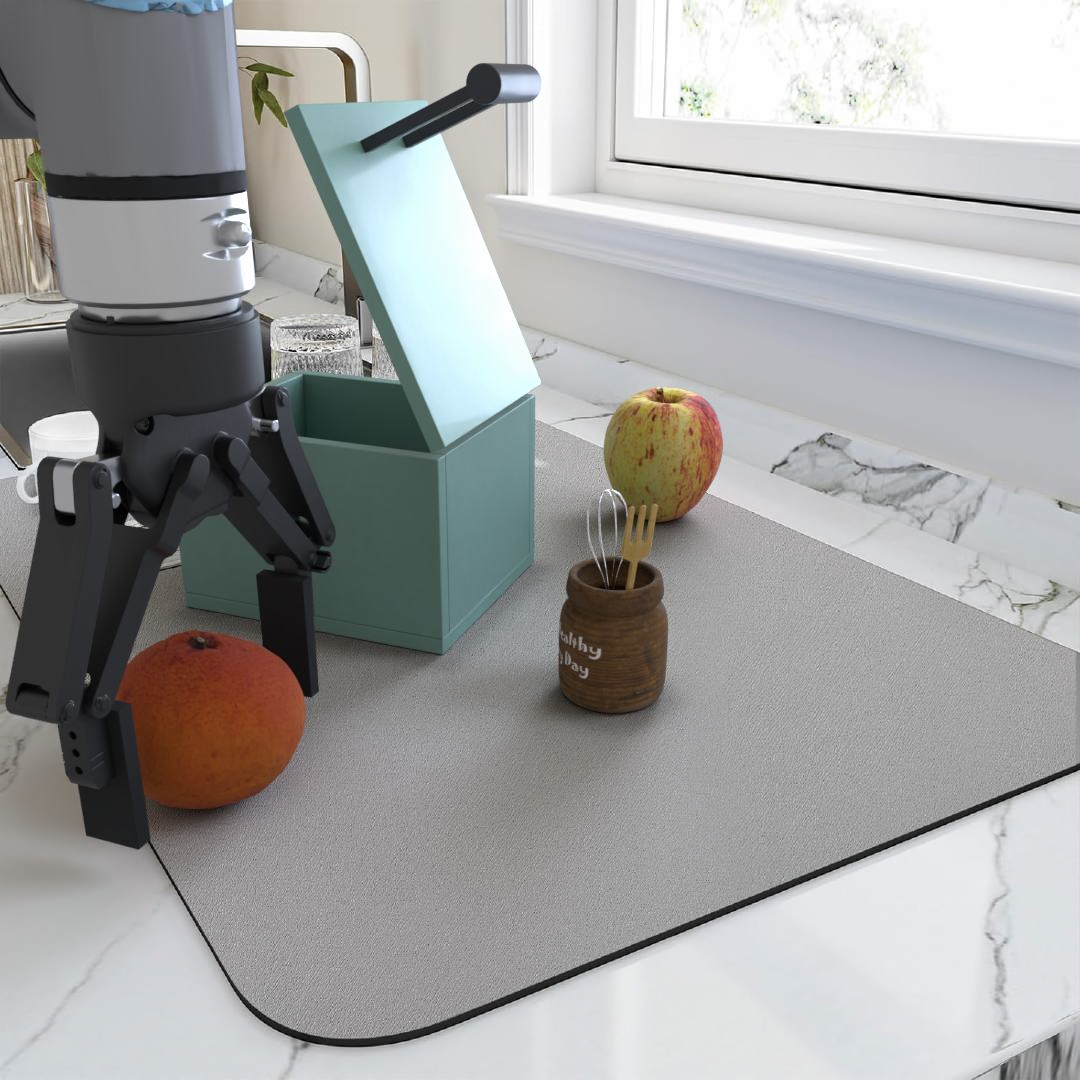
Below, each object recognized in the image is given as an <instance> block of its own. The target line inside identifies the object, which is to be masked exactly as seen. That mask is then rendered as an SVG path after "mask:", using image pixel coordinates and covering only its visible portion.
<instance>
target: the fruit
mask: <svg viewBox="0 0 1080 1080" xmlns="http://www.w3.org/2000/svg"><path fill="white" fill-rule="evenodd" d="M115 700H118V701H122V702H127V703H131V707H132V714H133V721H134V728H135V734H136V741H137V748H138V755H139V762H140V769H141V776H142V783H143V790H144V797H146V798H148V799H150V800H152V801H154V802H156V803H159V804H162V805H163V806H166V807H169V808H177V809H185V810H201V809H202V810H204V809H206V810H209V809H216V808H220V807H224V806H227V805H232V804H235V803H238V802H241V801H244V800H246V799H249V798H252V797H253V796H256V795H258V794H259V793H262V792H263V791H264V790H266V788H268V786H269V785H270V784H272V783H273V782H274V781H275V780H276V779H277V778H278V777H279V776H280V775H281V774H282V773H283V772H284V770H285V769H286V768H287V766H288V765H289V764H290V762H291V760H292V759H293V757H294V755H295V752H296V751H297V749H298V745H299V744H300V743H301V740H302V736H303V734H304V730H305V726H306V725H305V724H306V709H307V708H306V700H305V696H304V695H303V692H302V689H301V687H300V685H299V683H298V681H297V679H296V677H295V675H294V674H293V672H292V671H291V669H290V668H289V667H288V665H287V664H286V663H285V662H284V661H283V660H282V659H281V658H280V657H278V656H277V655H275V654H273V653H272V652H270V651H269V650H267V649H266V648H264V647H263V645H261V644H259V643H256V642H254V641H251V640H249V639H245V638H242V637H239V636H235V635H231V634H228V633H221V632H220V633H218V632H217V633H216V632H211V631H208V630H207V631H206V630H199V629H190V630H185V631H181V632H177V633H174V634H173V633H172V634H171V635H168V636H167V637H165V639H161V640H159V641H157V642H155V643H152V644H151V645H149V646H148V647H146V648H145V649H143V650H142V651H139V653H137V654H136V655H135V656H134V657H133V658H132V659H131V660H130V661H129V662H128V664H127V666H126V669H125V672H124V675H123V678H122V681H121V684H120V687H119V690H118V693H117V695H116V698H115Z"/></svg>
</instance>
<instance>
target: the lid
mask: <svg viewBox="0 0 1080 1080" xmlns="http://www.w3.org/2000/svg"><path fill="white" fill-rule="evenodd" d="M541 90H542V78H541V74H540V73H539V71H538V70H537V69H536V68H535V66H532V65H531V64H527V63H500V62H499V63H498V62H497V63H496V62H480V63H477V64H475V65H474V66H473V67H471V69H470V70H469V71H468V73H467V76H466V80H465V85H464V86H463V87H460V88H458V89H456V90H454V91H453V92H451V93H449V94H447V95H445V96H443V97H441V98H439V99H437V100H436V101H433V102H432V103H430V104H429V103H428V100H427V99H412V100H411V99H410V100H408V99H407V100H383V101H357V102H356V101H355V102H353V101H352V102H330V103H329V102H327V103H300V104H296V105H293V106H292V107H290V108H288V109H287V110H285V111H283V115H284V117H285V119H286V122H287V124H288V127H289V129H290V131H291V133H292V136H293V139H294V141H295V143H296V145H297V147H298V149H299V153H300V154H301V156H302V159H303V161H304V164H305V165H306V168H307V170H308V173H309V175H310V177H311V180H312V182H313V184H314V186H315V188H316V191H317V193H318V196H319V198H320V200H321V203H322V205H323V208H324V209H325V212H326V214H327V216H328V219H329V221H330V223H331V226H332V227H333V231H334V233H335V235H336V237H337V240H338V242H339V244H340V247H341V249H342V251H343V253H344V255H345V258H346V261H347V262H348V265H349V267H350V270H351V272H352V273H353V277H354V279H355V281H356V283H357V285H358V288H359V290H360V292H361V295H362V298H363V300H364V302H365V304H366V306H367V309H368V311H369V313H370V316H371V319H372V321H373V323H374V325H375V327H376V330H377V332H378V334H379V337H380V339H381V341H382V344H383V346H384V348H385V350H386V352H387V355H388V357H389V360H390V362H391V365H392V367H393V369H394V371H395V373H396V376H397V378H398V380H399V381H400V383H401V385H402V387H403V390H404V392H405V394H406V397H407V399H408V401H409V404H410V406H411V408H412V411H413V413H414V415H415V417H416V420H417V422H418V424H419V427H420V429H421V431H422V434H423V436H424V438H425V441H426V443H427V445H428V448H429V450H430V452H434V451H436V450H439V449H442V448H445V447H446V446H448V445H449V444H451V443H452V442H454V441H456V440H457V439H459V438H460V437H462V436H463V435H465V434H466V433H468V432H469V431H471V430H472V429H474V428H475V427H477V426H478V425H480V424H482V423H483V422H485V421H486V420H488V419H489V418H491V417H492V416H494V415H495V414H497V413H498V412H500V411H501V410H503V409H504V408H506V407H507V406H509V405H511V404H512V403H514V402H515V401H517V400H518V399H520V398H521V397H523V396H524V395H526V394H530V392H532V391H533V390H535V389H537V388H538V387H540V386H541V385H542V380H541V378H540V376H539V373H538V371H537V368H536V366H535V362H534V361H533V359H532V356H531V354H530V351H529V348H528V346H527V343H526V341H525V339H524V337H523V334H522V330H521V329H520V326H519V324H518V322H517V319H516V317H515V314H514V312H513V309H512V306H511V304H510V302H509V300H508V297H507V294H506V292H505V289H504V287H503V284H502V282H501V280H500V277H499V275H498V272H497V269H496V267H495V265H494V263H493V260H492V257H491V255H490V253H489V249H488V247H487V244H486V241H485V240H484V238H483V235H482V233H481V230H480V228H479V225H478V223H477V220H476V218H475V215H474V214H473V209H472V208H471V205H470V203H469V201H468V198H467V195H466V193H465V191H464V189H463V186H462V183H461V181H460V179H459V176H458V173H457V172H456V169H455V167H454V163H453V161H452V159H451V157H450V154H449V151H448V149H447V147H446V144H445V142H444V139H443V137H442V133H444V132H446V131H448V130H449V129H452V128H453V127H456V126H458V125H459V124H462V123H464V122H465V121H467V120H470V119H471V118H473V117H475V116H477V115H479V114H481V113H483V112H485V111H487V110H489V109H491V108H493V107H495V106H497V105H506V104H523V103H524V104H525V103H530V102H533V101H534V100H535V99H536V98H537V97H538V96H539V94H540V92H541Z"/></svg>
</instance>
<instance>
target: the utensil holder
mask: <svg viewBox="0 0 1080 1080" xmlns="http://www.w3.org/2000/svg"><path fill="white" fill-rule="evenodd" d="M606 492H608V494H609V495H610V498H611V501H612V506H613V511H614V512H613V513H614V530H615V531H614V533H615V542H617V538H618V524H617V523H618V521H617V504H616V499H615V496H614V495H615V493H616V492H617V491H615V492H614V490H613V489H600V490H598V491H596V492H595V493H594V494H593V495H592V496H591V497H590V499H589V501H588V504H587V512H586V528H587V540H588V545H589V549H590V550H591V554H592V556H593V557H592V558H587V559H584V560H581V561H579V562H577V563H575V564H574V565H573V566H572V567H571V568H570V569H569V571H568V575H567V579H566V584H565V592H566V595H567V598H566V599H565V601H564V602H563V604H562V607H561V610H560V615H559V621H558V622H559V626H558V654H557V655H558V660H557V661H558V662H557V663H558V669H557V670H558V680H559V681H558V682H559V686H560V689H561V691H562V693H563V695H564V696H565V697H566V698H567V699H568V700H569V701H571V702H572V703H574V704H575V705H577V706H579V707H581V708H583V709H586V710H589V711H593V712H599V713H608V714H622V713H623V714H625V713H630V712H631V713H632V712H636V711H639V710H642V709H645V708H647V707H649V706H651V705H652V704H654V703H656V701H657V700H658V699H660V696H661V695H662V693H663V691H664V687H665V682H666V676H667V675H666V674H667V664H668V663H667V662H668V646H669V643H668V642H669V617H668V612H667V609H666V606H665V604H664V603H663V601H662V600H663V599H664V596H665V583H664V577H663V573H662V572H661V570H660V569H659V568H658V567H656V566H655V565H653V564H651V563H650V562H647V561H644V560H643V559H645V558H647V557H648V556H649V555H650V554H651V550H652V545H653V540H654V539H653V538H654V531H655V527H656V526H655V525H656V522H655V521H656V514H657V508H658V506H657V504H653V505H652V507H651V512H650V517H649V520H648V522H647V527H646V532H645V538H644V539H643V531H644V525H645V520H646V519H645V513H646V506H645V505H642V506H641V507H640V511H639V516H637V522H636V527H635V533H634V538H633V540H632V541H631V539H632V532H633V524H634V518H635V514H634V511H635V508H634V507H633V506H630V507H629V509H627V506H626V502H625V500H624V498H623V497H622V495H621V494H620V493H618V492H617V493H618V494H617V493H616V494H617V495H619V494H620V495H621V496H620V495H619V496H620V498H621V499H622V498H623V499H622V500H624V501H623V502H624V505H625V506H624V505H623V506H624V508H625V515H626V521H625V526H624V531H623V538H622V543H621V549H620V555H621V556H617V543H614V544H615V547H614V555H609V556H608V555H606V556H605V553H604V545H603V539H602V526H601V524H602V523H601V522H600V518H601V501H602V497H603V495H604V493H606ZM599 494H600V495H599ZM597 495H599V503H598V512H597V515H598V516H597V520H598V525H599V528H598V540H599V541H598V543H599V550H600V555H601V556H596V554H595V551H594V548H593V544H592V541H591V535H590V522H589V521H590V519H589V518H590V517H589V511H590V505H591V503H592V500H593V499H594V497H596V496H597ZM642 539H643V540H642Z"/></svg>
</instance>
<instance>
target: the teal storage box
mask: <svg viewBox="0 0 1080 1080" xmlns="http://www.w3.org/2000/svg"><path fill="white" fill-rule="evenodd" d="M264 385H272V386H282V387H285V388H287V390H288V392H289V396H290V402H291V409H292V416H293V423H294V429H295V431H296V434H297V436H298V439H299V441H300V444H301V446H302V448H303V451H304V453H305V456H306V458H307V461H308V463H309V466H310V468H311V470H312V473H313V475H314V478H315V480H316V483H317V485H318V488H319V490H320V492H321V495H322V497H323V500H324V502H325V505H326V507H327V509H328V512H329V514H330V517H331V519H332V522H333V524H334V527H335V530H336V537H335V540H334V543H333V544H332V546H330V547H324V546H322V547H321V548H320V550H323V551H329V552H330V553H331V555H332V563H331V567H330V569H329V571H328V572H327V573H325V574H322V573H316V572H311V573H312V586H313V595H312V596H313V600H314V602H313V604H314V629H315V632H320V633H326V634H331V635H337V636H341V637H347V638H351V639H357V640H362V641H368V642H373V643H379V644H383V645H390V646H394V647H400V648H405V649H410V650H415V651H420V652H426V653H432V654H436V655H444V654H445V653H446V652H447V651H449V649H450V648H451V647H452V646H453V645H454V644H455V643H456V642H457V641H458V640H459V639H461V637H462V636H463V635H464V634H465V633H466V632H468V630H469V629H470V628H471V627H472V625H474V624H475V623H476V622H477V620H479V618H481V616H483V615H484V613H486V611H487V610H489V608H491V606H492V605H493V604H494V603H495V602H496V601H497V600H498V599H499V598H500V597H501V596H502V595H503V594H504V593H505V592H506V591H507V590H508V589H509V588H510V587H511V586H512V585H513V584H514V583H515V582H516V581H517V580H518V579H519V578H520V577H521V576H522V575H523V574H524V573H525V572H526V571H527V569H529V568H530V566H532V565H533V564H534V562H535V500H536V499H535V493H536V489H535V487H536V486H535V484H536V482H535V481H536V480H535V478H536V394H532V393H527V394H526V395H524V396H523V397H521V398H520V399H518V400H517V401H515V402H514V403H512V404H511V405H509V406H507V407H506V408H504V409H503V410H501V411H500V412H498V413H497V414H495V415H494V416H492V417H491V418H489V419H488V420H486V421H485V422H483V423H482V424H480V425H478V426H477V427H475V428H474V429H472V430H471V431H469V432H468V433H466V434H465V435H463V436H462V437H460V438H459V439H457V440H456V441H454V442H452V443H451V444H449V445H448V446H446V447H445V448H442V449H439V450H436V451H434V452H430V450H429V448H428V445H427V443H426V441H425V438H424V436H423V434H422V431H421V429H420V427H419V424H418V422H417V420H416V417H415V415H414V413H413V411H412V408H411V406H410V404H409V401H408V399H407V397H406V394H405V392H404V390H403V387H402V385H401V383H400V381H399V379H398V380H397V379H390V378H381V377H372V376H363V375H352V374H344V373H334V372H324V371H316V370H315V371H314V370H306V369H297V370H295V371H292V372H290V373H287V374H285V375H283V376H280V377H278V378H275V379H272V380H270V381H268V382H266V383H265V382H264ZM300 519H301V520H306V519H305V518H304V517H301V516H300ZM306 521H307V520H306ZM178 549H179V558H180V565H181V574H182V582H183V591H184V601H185V607H188V608H192V609H193V608H194V609H199V610H203V611H204V610H206V611H210V612H213V613H214V612H215V613H221V614H225V615H231V616H236V617H241V618H247V619H252V620H257V621H260V613H259V602H258V591H257V581H256V574H258V573H259V572H261V571H262V570H264V569H267V570H273V571H274V566H273V565H269V564H267V563H266V562H265V560H264V559H263V558H262V557H261V556H260V555H259V554H258V553H257V552H256V550H255V549H254V548H253V547H252V546H251V545H250V544H249V543H248V542H247V540H246V539H245V538H244V537H243V536H242V535H241V534H240V533H239V532H238V530H237V529H236V528H235V527H234V526H233V525H232V524H231V523H230V522H229V520H228V519H227V518H226V517H225V516H224V515H223V514H222V513H221V514H219V515H216V516H207V517H206V518H205V519H204V520H203V521H202V522H201V523H200V524H199V525H198V526H197V527H195V528H194V529H192V530H190V531H188V532H186V533H183V535H182V538H181V541H180V544H179V547H178Z"/></svg>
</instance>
